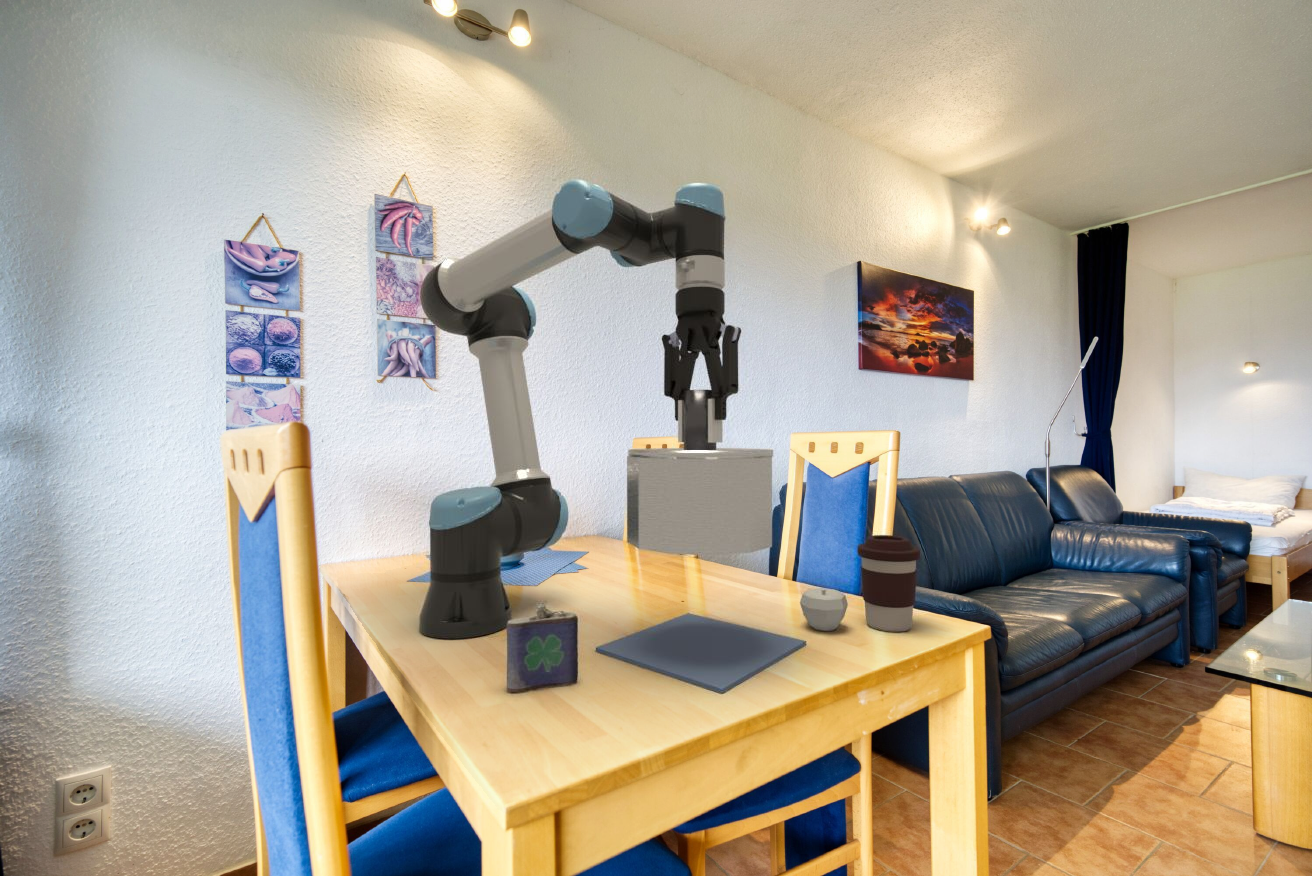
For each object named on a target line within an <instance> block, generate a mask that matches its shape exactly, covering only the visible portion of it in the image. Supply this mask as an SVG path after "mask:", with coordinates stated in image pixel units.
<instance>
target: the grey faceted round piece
mask: <svg viewBox="0 0 1312 876" xmlns="http://www.w3.org/2000/svg"><path fill="white" fill-rule="evenodd" d="M799 605H800V608H801V611H802V615H803V616H804V618H805V620H806V621H807V623H808V624H809V626H811V627H812V628H813V629H815V630H817V631H823V632H831V631H835V629H837V628H838V627H839V625H841V622H842V621H843V619H844V617H845V614H846V612H847V610H848V609H847V608H848V605H849V604H848V601H847V596H846V594H845V593H843V592H841V591H839V590H837V589H832V588H825V587H816V588H808V589H806V590H804V592H803V593H802V594H801V598H800V601H799Z"/></svg>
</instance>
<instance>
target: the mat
mask: <svg viewBox="0 0 1312 876" xmlns="http://www.w3.org/2000/svg"><path fill="white" fill-rule="evenodd" d="M806 645H807V640H803V639H799V638H795V637H791V636H787V635H782V634H778V633H774V632H769V631H766V630H761V629H757V628H753V627H749V626H745V625H739V624H738V623H737V624H736V623H732V622H727V621H724V620H719V619H714V618H711V617H706V616H703V615H699V614H694V613H690V612H686V613H685V614H682V615H680V616H677V617H673V618H671V619H668V620H666V621H663V622H661V623H658V624H655V625H651V626H650V627H647V628H645V629H642V630H639V631H635V632H634V633H631V634H628V635H625V636H623V637H620V638H617V639H614V640H612V641H610V642H609V641H608V642H607V643H604V644H601V645H599V646H596V647H595V652H596V653H599V654H601V655H605V656H607V657H610V658H614V659H617V660H620V661H622V662H626V663H628V664H632V665H635V666H638V667H640V668H644V669H646V670H650V671H652V672H656V673H658V674H661V675H665V676H668V677H671V678H673V679H676V680H680V681H683V682H685V683H689V684H691V685H694V686H697V687H699V688H700V687H701V688H704V689H707V690H709V691H711V692H716V693H719V694H725V693H726V692H728V691H729V690H732V689H733V688H735V687H736V686H738V685H740V684H742V683H743V682H745V681H747V680H748V679H750V678H752V677H754V676H756V675H757V674H759V673H760V672H762V671H764V670H765V669H767V668H769V667H770V666H772V665H774V664H776V663H778V662H779V661H781V660H783V659H784V658H787V656H788V657H789V655H791V654H793V653H795V652H796V651H798V650H800V649H802V648H803V647H806Z"/></svg>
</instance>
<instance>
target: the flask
mask: <svg viewBox="0 0 1312 876" xmlns="http://www.w3.org/2000/svg"><path fill="white" fill-rule="evenodd" d="M546 605H547V602H546V601H541V602H539V604H538V603H536V605H535V606H536V609H537V610H536V611H535V614H536V615H534V616H532V615H531V616H525V617H516V618H513V619H512V618H511V620H509V621H508V622H507V627H506V690H507V692H508V693H509V694H511V693H517V694H519V693H522V694H523V693H526V692H531V691H541V690H545V689H549V688H553V689H554V688H557V687H565V686H573V685H575V684H578V683H579V682H578V679H579V678H578V677H579V658H578V657H579V651H578V649H579V648H578V647H579V646H578V645H579V640H578V639H579V638H578V635H579V626H578V624H579V623H578V622H579V619H578V616H577V614H575V613H574V612H572V611H571V612H566V611H565V610H558V611H552V610H550V609H549V608H547V607H546Z"/></svg>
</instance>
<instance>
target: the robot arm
mask: <svg viewBox="0 0 1312 876" xmlns="http://www.w3.org/2000/svg"><path fill="white" fill-rule="evenodd" d="M724 201H725V199H724V194H723V192H722V190H721V189H720V188H718V187H717V186H716V185H713V184H710V183H708V182H707V183H706V182H694V183H693V182H692V183H687V184H685V185H682V186H681V188H679V189H677V191H676V192H675V197H674V206H672V207H668V208H666V209H663V210H659V211H653V212H647V211H645V210H643V209H641V208H639V207H638V206H635V205H634V204H631V203H630V202H628V201H626V200H624V199H622V198H620V197H619V196H617V195H615V194H613V193H611V192H610V191H608V190H606V189H605V188H603V187H602V186H600V185H598V184H594V183H591V182H588V181H585V180H584V179H579V178H578V179H577V178H576V179H570V180H568V181H566V182H565V183H563V184H562V185H561V188H560V190H559V191H558V192H556V193H555V195H554V198H553V202H552V206H551V208H550V209H549V210H547V211H546V212H543V213H542V214H540V215H538V216H536V217H534V218H533V219H530V220H529V221H527V222H525V223H523V224H522V225H520V226H518V227H516V228H514V229H513V230H511V231H509V232H508V233H506V234H504V235H502V236H500V237H499V238H497V239H494V240H493V241H491V242H489V243H488V244H485V245H484V246H482V247H480V248H478V249H477V250H475V251H473V252H471V253H469V254H468V255H466V256H464V257H462V258H459V257H452V258H448V259H446V260H443V261H442V262H440V263H439V264H438V265H436V266H434V267H433V268H431V270H430V271H428V272H427V274H426V275H425V277H424V279H423V280H422V283H421V286H420V291H419V293H420V294H419V298H420V299H419V300H420V305H421V307H422V310H423V312H424V314H425V316H426V317H427V319H428V321H430V322H431V323H432V324H433V325H434V326H435V327H437V328H438V329H439V330H442V331H443V332H446V333H448V334H453V335H457V336H463V337H467V346H468V351H469V353H470V354H472V356H473V357H476V358H477V359H478V364H479V370H480V371H479V372H480V378H481V385H482V391H483V397H484V399H483V400H484V404H485V405H484V406H485V412H486V418H487V425H488V430H489V431H488V432H489V437H490V438H489V439H490V445H491V450H492V458H493V463H494V470H495V478H494V480H493V481H492V483H491V484H490V485H489V486H474V487H473V486H472V487H466V488H465V487H464V488H459V489H454V490H453V489H452V490H451V491H450V490H449V491H446V492H443V493H441V494H439V495H437V496H435V498H434V499H433V500H432V501H431V504H430V511H429V512H430V513H429V520H428V526H429V540H430V541H429V542H430V543H429V544H430V545H429V549H430V550H429V552H430V553H429V554H430V555H429V558H430V559H429V561H430V563H429V565H430V566H429V567H430V578H429V580H430V581H429V582H430V583H429V587H428V589H427V593H426V596H425V598H424V601H423V605H422V608H421V612H420V614H419V618H418V619H419V621H418V622H419V632H420V633H421V634H422V635H425V636H427V637H431V638H437V639H447V640H449V639H452V640H453V639H467V638H474V637H475V638H476V637H480V636H481V637H482V636H485V635H489V634H493V633H496V632H498V631H501V630H503V629H505V628H507V622H508V621H509V620H512V607H511V603H510V601H509V598H508V595H507V592H506V589H505V586H504V583H503V581H502V568H501V567H502V558H505V557H509V556H516V555H520V554H523V553H529V552H536V551H540V550H543V549H545V548H549V547H551V546H554V545H555V544H556V543H558V542H559V541H560V539H561V538H562V536H563V534H564V533H565V532H566V530H567V527H568V522H569V506H568V503H567V500H566V498H565V496H563V495H562V493H561V492H560V490H558V489H556V488H554V487H553V486H552V481H551V476H550V475H549V474H547V473H546V472H544V471H543V470H542V468H541V461H540V454H539V450H538V442H537V438H536V430H535V424H534V418H533V411H532V406H531V401H530V394H529V393H530V392H529V387H528V380H527V375H526V369H525V361H524V356H523V354H524V352H525V350H527V348H528V347H529V340H530V339H531V338H532V336H533V334H534V332H535V329H534V327H536V325H537V314H536V313H537V312H536V308H535V306H534V302H533V301H532V299H531V298H530V296H529V295H528V294H527V293H526V292H525V291H524V290H522V289H520V288H518V287H516V285H518V284H519V283H522V282H523V281H526V280H528V279H530V278H532V277H534V276H536V275H539V274H540V273H543V272H544V271H547V270H549V269H551V268H553V267H555V266H558V265H559V264H561V263H564V262H566V261H567V260H570V259H571V258H573V257H576V256H578V255H580V254H581V253H584V252H587V251H589V250H591V249H593V248H596V247H600V248H602V249H605V250H608V251H609V252H610V255H611V257H612V258H613V259H614V260H615V261H616V263H617V264H618V265H619V266H621V267H623V268H633V267H638V268H639V267H643V266H646V265H650V264H654V263H660V262H663V261H668V260H672V259H675V288H676V290H677V291H676V293H675V294H674V295H675V315H676V318H677V324H676V327H675V331H673V332H672V333H670V334H665V333H664V334H663V335H661V342H662V345H663V349H664V350H663V351H664V353H663V354H664V357H663V358H664V361H663V363H664V366H663V367H664V368H663V370H664V371H663V373H664V374H663V376H664V377H663V381H664V382H663V393H664V396H665V397H669V398H671V399H672V400H674V420H675V421H676V422H677V442H678V443H684V391H685V390H691V386H692V381H693V376H694V372H695V367H696V361H697V359H698V358H699V356H700V353H701V354H702V355H703V358H704V362H705V367H706V371H707V375H708V380H709V385H710V390H712V394H711V395H710V397H712V398H714V399H708V443H716V444H717V443H723V421H725V420H726V419H727V400H728V397H730V396H732V395H736V394H738V393H739V341H740V337H741V334H742V328H741V327H739V326H735V325H730V324H726V322H725V320H724V317H723V316H724V314H725V309H726V307H725V302H726V300H725V298H726V297H725V295H726V293H725V291H723V289H724V288H725V286H726V282H725V281H726V279H725V276H726V274H725V273H726V271H725V263H726V262H725V222H726V216H725V203H724ZM720 338H722V341H721V346H720V342H719V340H720ZM721 355H722V356H721Z"/></svg>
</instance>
